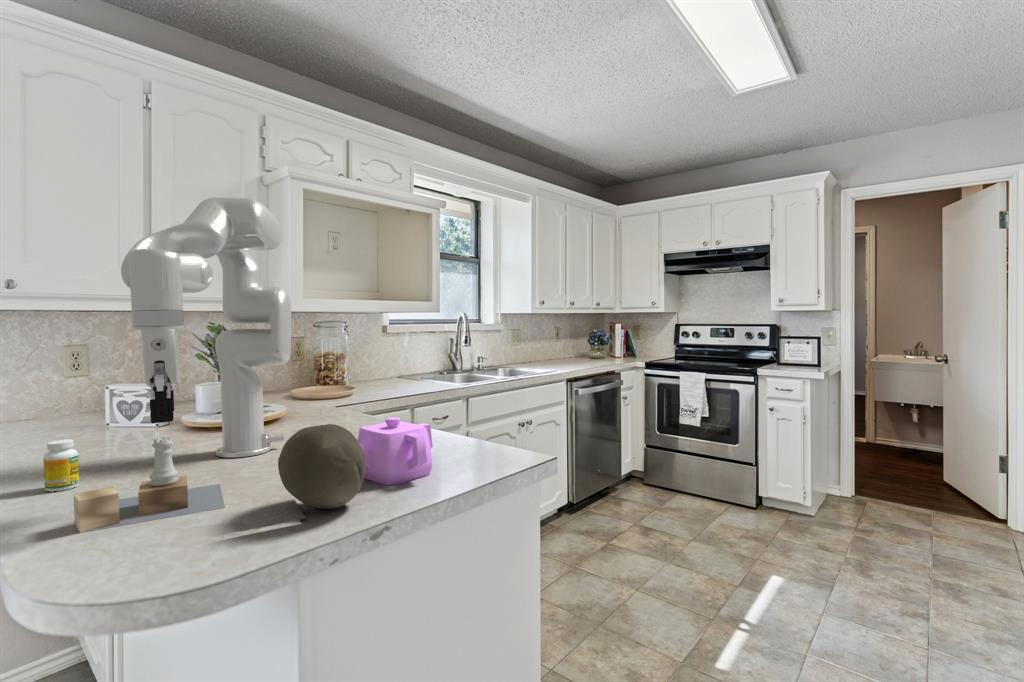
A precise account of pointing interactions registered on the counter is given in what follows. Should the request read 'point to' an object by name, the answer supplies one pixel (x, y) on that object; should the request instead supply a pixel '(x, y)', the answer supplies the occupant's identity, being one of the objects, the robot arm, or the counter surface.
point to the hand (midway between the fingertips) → (163, 416)
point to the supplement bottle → (61, 466)
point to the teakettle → (396, 451)
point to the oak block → (96, 509)
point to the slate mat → (197, 502)
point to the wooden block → (163, 497)
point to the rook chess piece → (163, 464)
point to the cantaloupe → (322, 466)
